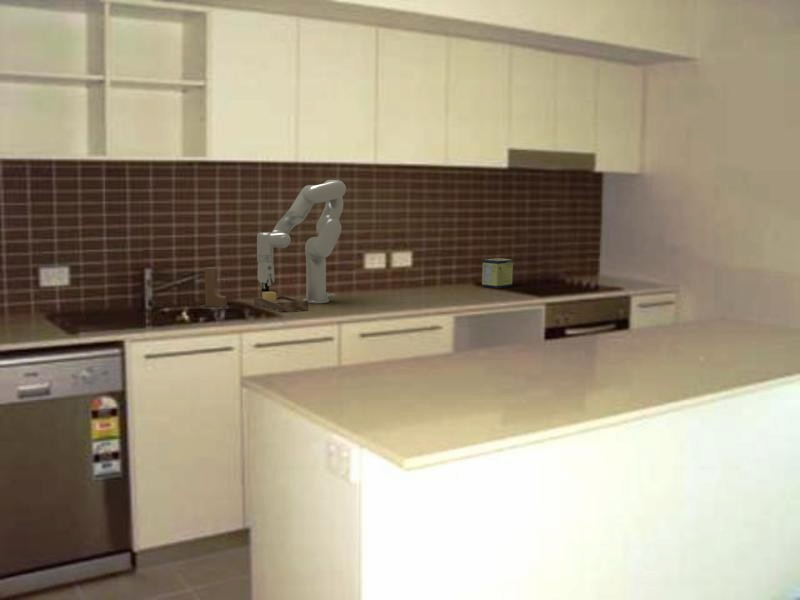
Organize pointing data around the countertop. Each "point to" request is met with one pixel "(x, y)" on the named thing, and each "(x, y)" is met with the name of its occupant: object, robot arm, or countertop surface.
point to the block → (269, 296)
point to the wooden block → (213, 289)
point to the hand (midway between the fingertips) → (265, 297)
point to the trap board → (282, 304)
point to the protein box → (497, 273)
